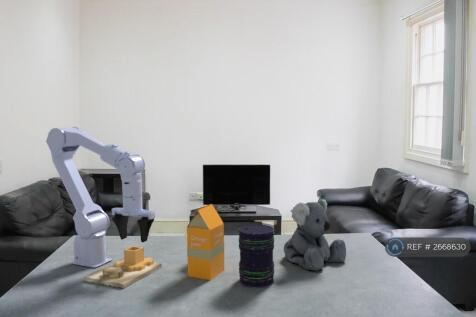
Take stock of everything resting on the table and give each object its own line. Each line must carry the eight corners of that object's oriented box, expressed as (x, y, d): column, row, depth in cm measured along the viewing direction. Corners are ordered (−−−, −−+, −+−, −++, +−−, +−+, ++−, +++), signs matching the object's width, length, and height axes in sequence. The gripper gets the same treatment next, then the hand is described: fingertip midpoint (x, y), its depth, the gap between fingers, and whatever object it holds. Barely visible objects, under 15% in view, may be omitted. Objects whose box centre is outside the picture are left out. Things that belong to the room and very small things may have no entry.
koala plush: (315, 274, 131) (315, 208, 129) (270, 259, 145) (270, 199, 142) (350, 261, 142) (351, 200, 140) (306, 248, 156) (306, 192, 154)
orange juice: (224, 270, 135) (224, 204, 133) (210, 280, 127) (209, 210, 125) (202, 266, 139) (200, 202, 137) (187, 276, 131) (185, 208, 129)
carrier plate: (84, 280, 128) (83, 266, 127) (124, 261, 144) (124, 248, 144) (123, 288, 122) (123, 273, 122) (161, 267, 138) (161, 253, 138)
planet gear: (110, 267, 135) (109, 251, 134) (131, 257, 144) (130, 242, 143) (137, 272, 131) (137, 255, 130) (157, 261, 140) (157, 245, 139)
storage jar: (278, 276, 129) (278, 225, 128) (269, 289, 120) (269, 235, 119) (245, 273, 133) (244, 223, 131) (234, 285, 123) (233, 232, 122)
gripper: (104, 196, 135) (106, 240, 136) (144, 200, 129) (145, 246, 130) (119, 192, 141) (121, 234, 142) (158, 195, 135) (159, 239, 136)
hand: (133, 240), depth 137 cm, fingers open, 7 cm apart
